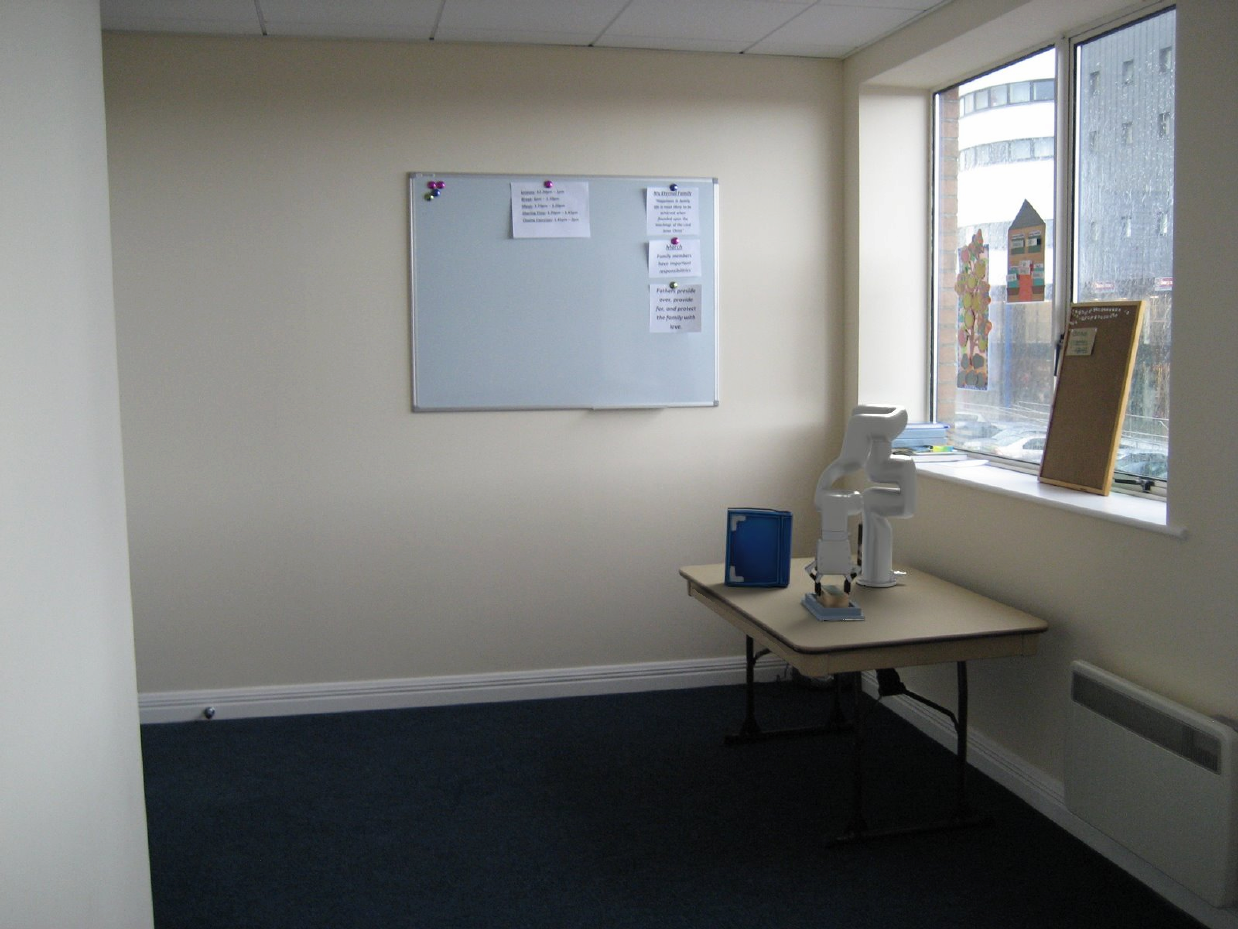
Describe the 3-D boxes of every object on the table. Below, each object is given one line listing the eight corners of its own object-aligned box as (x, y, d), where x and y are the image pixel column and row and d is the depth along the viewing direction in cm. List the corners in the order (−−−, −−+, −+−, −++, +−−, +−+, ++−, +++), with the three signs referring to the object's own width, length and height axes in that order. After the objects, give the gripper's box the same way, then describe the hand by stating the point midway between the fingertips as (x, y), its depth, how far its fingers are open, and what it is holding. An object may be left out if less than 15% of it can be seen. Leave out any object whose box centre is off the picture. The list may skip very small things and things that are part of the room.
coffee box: (856, 570, 378) (857, 523, 376) (859, 566, 384) (860, 521, 382) (883, 572, 374) (884, 525, 373) (885, 568, 380) (887, 522, 379)
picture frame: (836, 601, 328) (836, 584, 327) (848, 612, 314) (849, 595, 313) (816, 601, 327) (817, 584, 327) (827, 613, 313) (828, 595, 313)
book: (791, 583, 357) (792, 507, 354) (792, 588, 350) (793, 511, 347) (724, 582, 359) (725, 506, 356) (724, 587, 352) (725, 510, 349)
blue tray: (843, 601, 332) (843, 591, 332) (864, 620, 310) (865, 609, 310) (801, 602, 331) (801, 592, 331) (819, 621, 309) (819, 610, 309)
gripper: (859, 533, 322) (857, 591, 324) (801, 533, 321) (800, 592, 323) (867, 537, 315) (865, 597, 317) (807, 538, 314) (806, 598, 316)
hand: (832, 594), depth 320 cm, fingers open, 7 cm apart
